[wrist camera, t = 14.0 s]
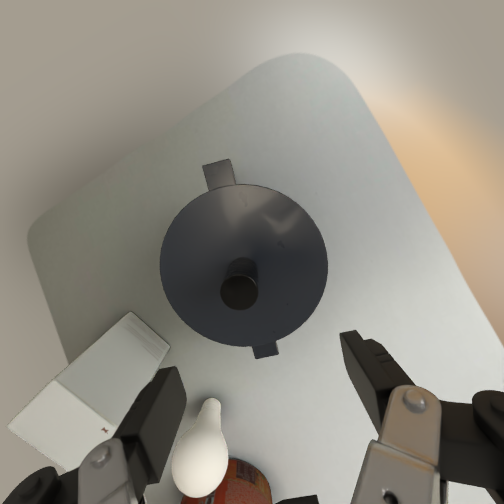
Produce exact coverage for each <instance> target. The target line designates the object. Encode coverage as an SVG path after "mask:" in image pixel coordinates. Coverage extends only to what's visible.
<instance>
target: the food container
mask: <svg viewBox="0 0 504 504" xmlns="http://www.w3.org/2000/svg"><path fill="white" fill-rule="evenodd" d="M181 504H272V497H271V490H270V486H269V483H268V481H267V479H266V478H265V476H264V475H263V474H262V473H261V472H260V471H259V470H258V469H257V468H255V467H254V466H252V465H251V464H249V463H247V462H244V461H241V460H238V459H231V458H228V466H227V470H226V473H225V475H224V477H223V479H222V481H221V483H220V484H219V485H218V487H217V488H216V489H215V490H214V491H212V492H211V493H210V494H208V495H206V496H203V497H199V498H193V497H189V496H187V495H185V494H184V495H183V498H182V501H181Z"/></svg>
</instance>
